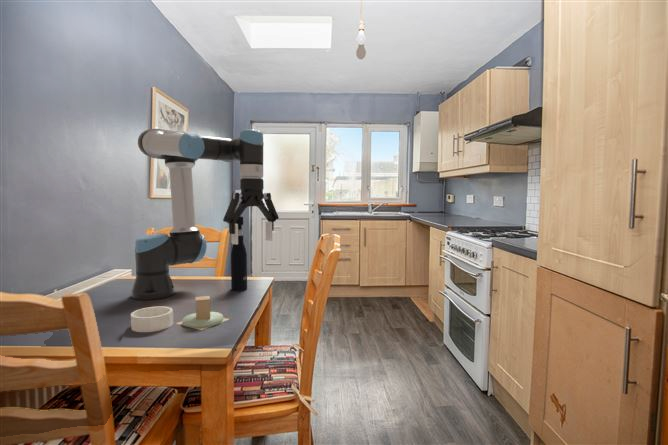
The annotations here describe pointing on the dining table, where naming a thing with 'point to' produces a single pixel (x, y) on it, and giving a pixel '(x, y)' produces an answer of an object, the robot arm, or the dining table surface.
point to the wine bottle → (239, 262)
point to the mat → (204, 327)
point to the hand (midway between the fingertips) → (252, 242)
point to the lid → (202, 315)
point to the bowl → (151, 319)
